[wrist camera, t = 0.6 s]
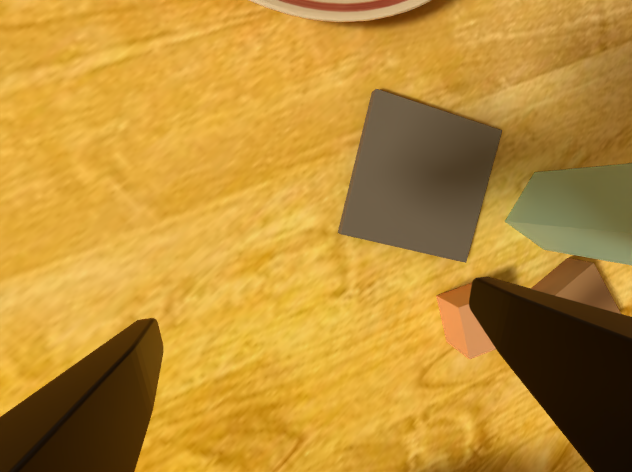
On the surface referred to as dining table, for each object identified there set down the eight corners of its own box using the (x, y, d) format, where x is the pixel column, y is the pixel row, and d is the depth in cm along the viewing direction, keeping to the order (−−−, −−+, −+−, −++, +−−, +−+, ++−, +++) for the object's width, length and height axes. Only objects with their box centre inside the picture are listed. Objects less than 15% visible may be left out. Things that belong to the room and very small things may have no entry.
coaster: (459, 260, 25) (466, 262, 24) (337, 232, 23) (340, 234, 22) (494, 132, 24) (502, 130, 24) (371, 92, 22) (376, 88, 22)
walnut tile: (597, 318, 29) (629, 329, 26) (538, 368, 28) (565, 384, 26) (563, 257, 27) (593, 262, 25) (501, 308, 27) (525, 319, 24)
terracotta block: (508, 289, 23) (480, 279, 26) (458, 307, 22) (435, 295, 25) (518, 340, 23) (489, 324, 26) (469, 359, 23) (445, 341, 26)
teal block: (544, 249, 26) (713, 280, 17) (504, 221, 25) (660, 235, 16) (573, 202, 26) (759, 204, 17) (534, 172, 25) (708, 156, 16)
